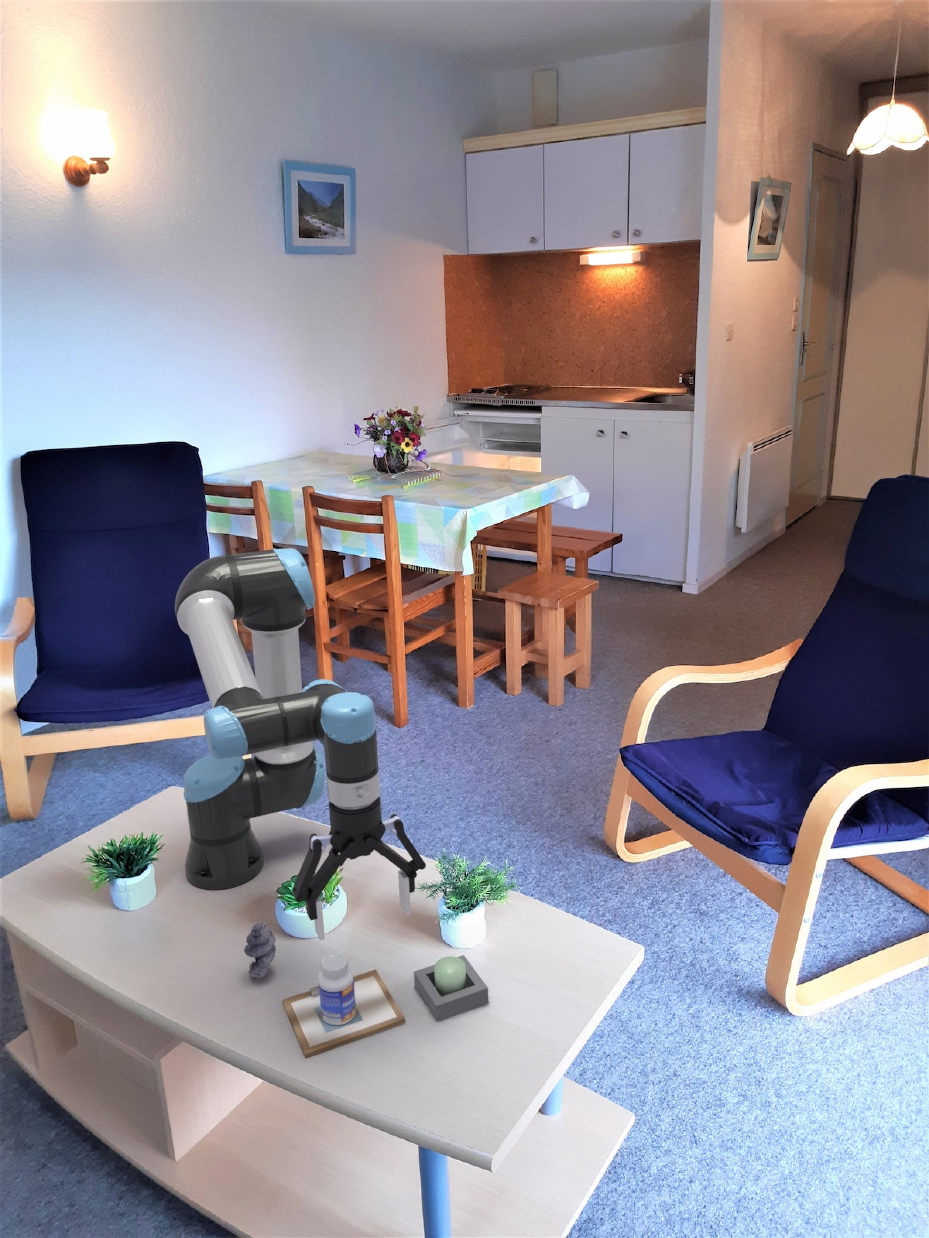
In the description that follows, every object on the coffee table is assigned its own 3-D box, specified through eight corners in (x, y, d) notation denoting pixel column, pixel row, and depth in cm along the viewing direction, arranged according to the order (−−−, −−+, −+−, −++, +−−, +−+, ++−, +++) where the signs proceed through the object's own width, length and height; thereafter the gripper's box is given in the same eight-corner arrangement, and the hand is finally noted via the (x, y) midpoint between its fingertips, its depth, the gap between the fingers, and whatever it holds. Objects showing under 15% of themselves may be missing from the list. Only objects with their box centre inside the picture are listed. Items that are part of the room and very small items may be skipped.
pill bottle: (350, 1028, 146) (346, 975, 143) (316, 1024, 147) (311, 971, 144) (360, 1003, 151) (356, 952, 148) (328, 1000, 152) (323, 949, 149)
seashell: (245, 968, 161) (239, 918, 158) (277, 960, 163) (272, 911, 160) (249, 988, 156) (243, 936, 153) (281, 980, 158) (276, 929, 155)
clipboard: (282, 1003, 153) (281, 995, 152) (376, 973, 159) (375, 965, 159) (305, 1058, 142) (304, 1049, 141) (405, 1022, 148) (404, 1014, 147)
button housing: (414, 986, 156) (413, 971, 155) (464, 969, 159) (463, 954, 158) (436, 1021, 148) (436, 1005, 147) (488, 1003, 152) (488, 987, 151)
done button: (430, 982, 154) (429, 962, 153) (458, 973, 156) (457, 952, 155) (442, 1001, 150) (442, 980, 149) (471, 991, 152) (470, 970, 151)
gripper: (275, 830, 130) (288, 960, 137) (443, 790, 139) (448, 913, 146) (263, 805, 137) (276, 930, 143) (424, 769, 146) (430, 888, 153)
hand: (363, 922), depth 145 cm, fingers open, 13 cm apart
